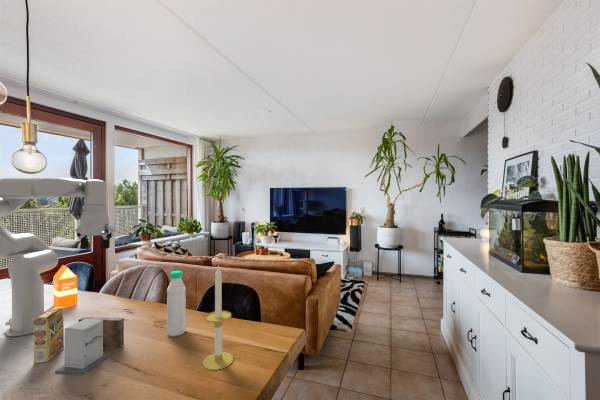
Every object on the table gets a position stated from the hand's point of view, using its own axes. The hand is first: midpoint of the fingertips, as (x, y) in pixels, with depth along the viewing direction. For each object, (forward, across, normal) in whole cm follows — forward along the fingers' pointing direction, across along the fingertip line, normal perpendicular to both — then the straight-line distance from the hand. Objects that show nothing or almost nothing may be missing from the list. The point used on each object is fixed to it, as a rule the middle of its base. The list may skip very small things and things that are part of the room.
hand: (95, 248), depth 117 cm
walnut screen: (+33, +15, -15) cm, 39 cm away
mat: (+33, +18, -26) cm, 46 cm away
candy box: (+34, +2, -22) cm, 40 cm away
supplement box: (+33, +18, -26) cm, 46 cm away
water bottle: (+34, +38, -4) cm, 51 cm away
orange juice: (+34, -34, +21) cm, 52 cm away
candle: (+34, +62, -22) cm, 74 cm away
